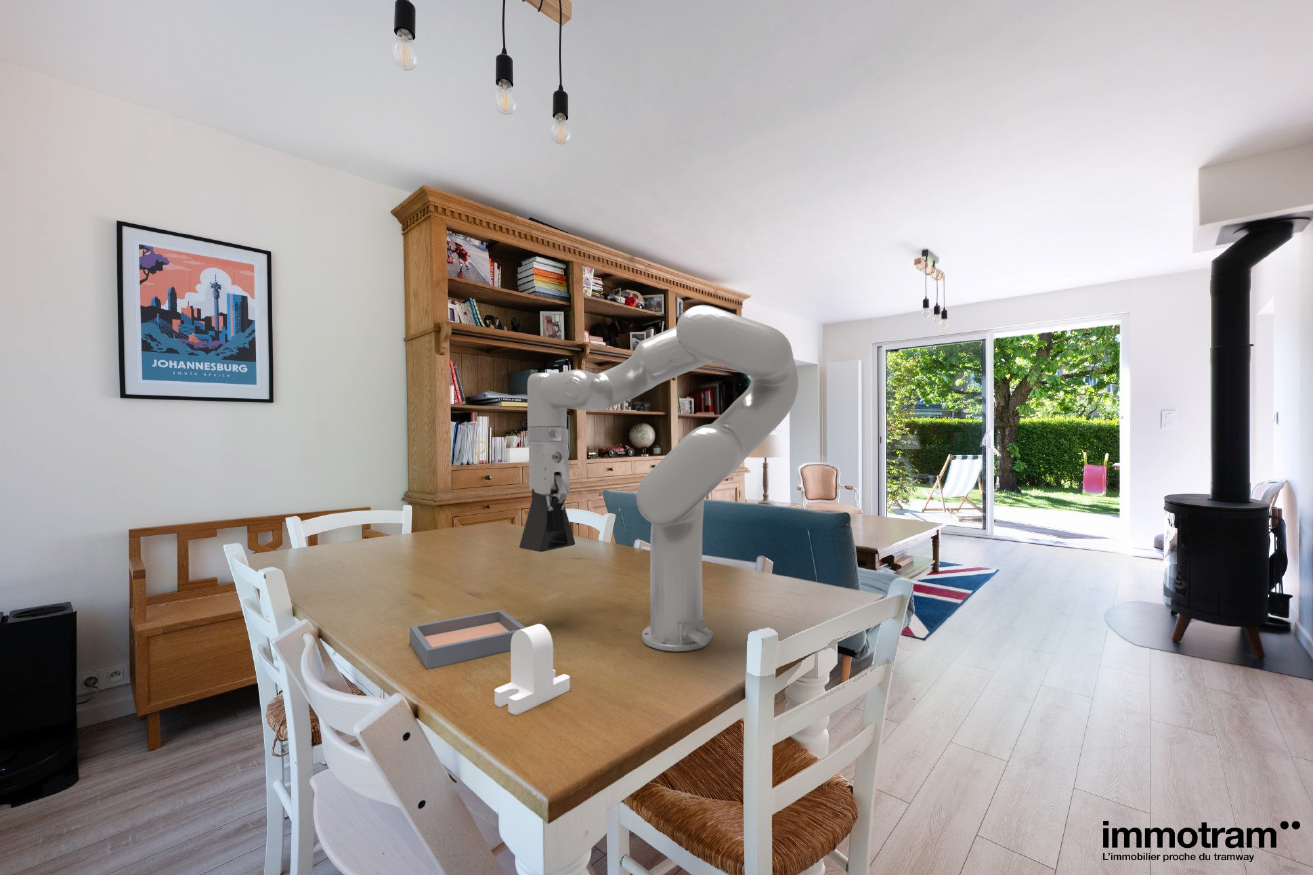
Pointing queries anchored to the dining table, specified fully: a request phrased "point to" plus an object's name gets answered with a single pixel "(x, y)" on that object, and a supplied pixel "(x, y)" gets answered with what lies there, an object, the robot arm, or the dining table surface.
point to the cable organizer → (531, 672)
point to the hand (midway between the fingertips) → (547, 527)
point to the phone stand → (544, 528)
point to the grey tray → (463, 638)
